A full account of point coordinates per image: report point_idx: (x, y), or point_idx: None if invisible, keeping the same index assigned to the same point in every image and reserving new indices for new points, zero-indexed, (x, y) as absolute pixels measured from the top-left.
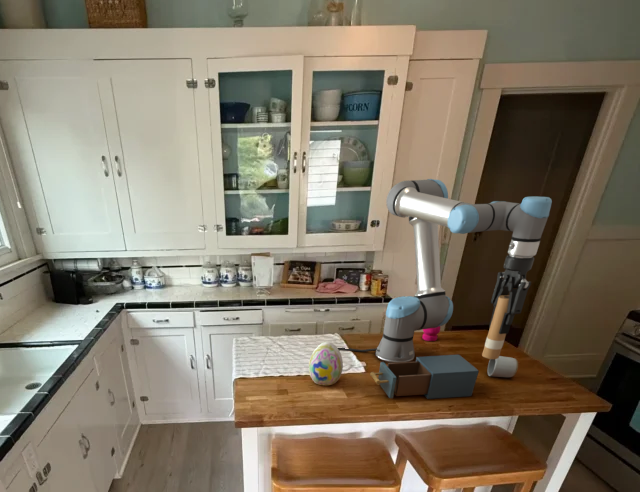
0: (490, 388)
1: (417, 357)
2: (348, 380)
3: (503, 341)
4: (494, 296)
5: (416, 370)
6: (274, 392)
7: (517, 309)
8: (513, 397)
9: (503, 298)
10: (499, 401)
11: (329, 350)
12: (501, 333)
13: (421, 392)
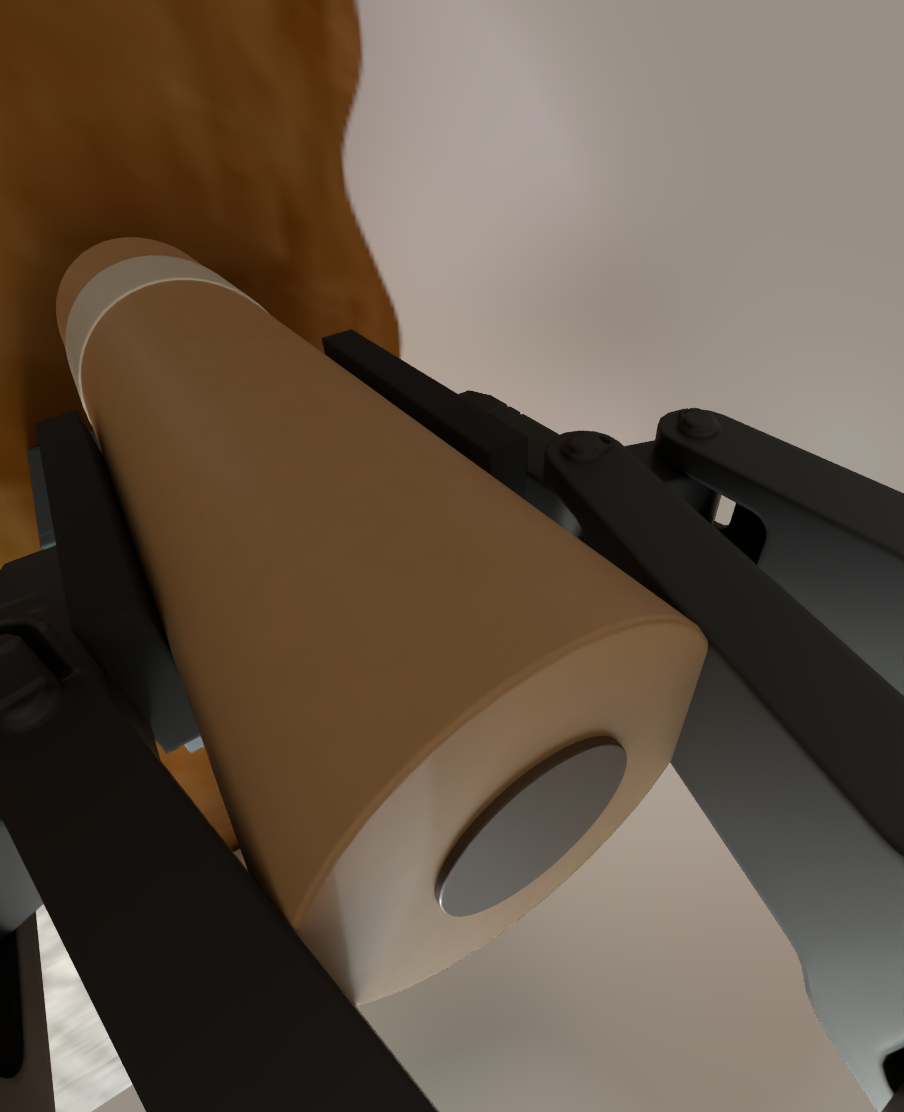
0: (129, 198)
1: (199, 748)
2: (217, 826)
3: (257, 303)
4: (39, 1093)
5: None
6: None
7: (752, 514)
8: (252, 65)
9: (586, 853)
10: (323, 212)
11: None
12: None
13: None
